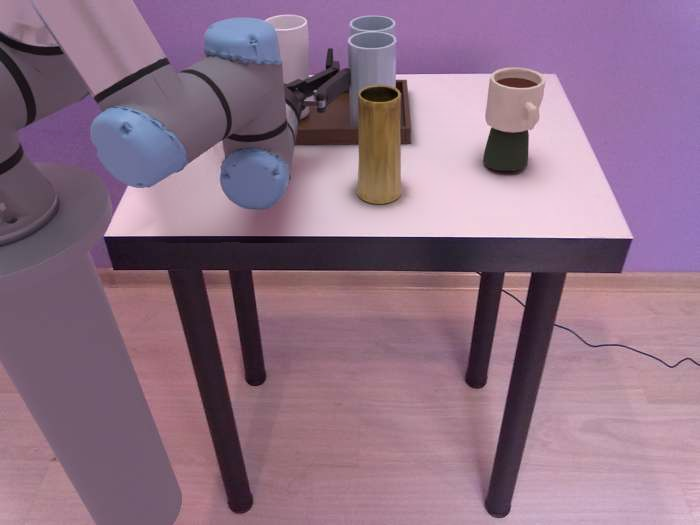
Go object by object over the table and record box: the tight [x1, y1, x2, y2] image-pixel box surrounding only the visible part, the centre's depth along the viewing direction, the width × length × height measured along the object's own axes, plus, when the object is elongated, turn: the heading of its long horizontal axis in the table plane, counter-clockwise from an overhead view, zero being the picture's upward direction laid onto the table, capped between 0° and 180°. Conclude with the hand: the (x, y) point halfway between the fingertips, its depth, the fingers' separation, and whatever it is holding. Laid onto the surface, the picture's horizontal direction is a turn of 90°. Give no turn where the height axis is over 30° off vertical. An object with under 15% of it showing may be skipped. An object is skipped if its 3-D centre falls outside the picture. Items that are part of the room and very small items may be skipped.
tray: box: [295, 79, 412, 146], centre depth 101 cm, size 26×18×3 cm
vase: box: [356, 85, 403, 205], centre depth 80 cm, size 6×6×14 cm
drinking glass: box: [264, 14, 311, 120], centre depth 97 cm, size 7×7×15 cm
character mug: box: [482, 66, 546, 172], centre depth 85 cm, size 11×7×13 cm, turn 15°
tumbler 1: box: [349, 14, 396, 38], centre depth 100 cm, size 7×7×14 cm
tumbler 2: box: [347, 31, 398, 127], centre depth 94 cm, size 7×7×14 cm
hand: (286, 57), depth 96 cm, fingers open, 13 cm apart
